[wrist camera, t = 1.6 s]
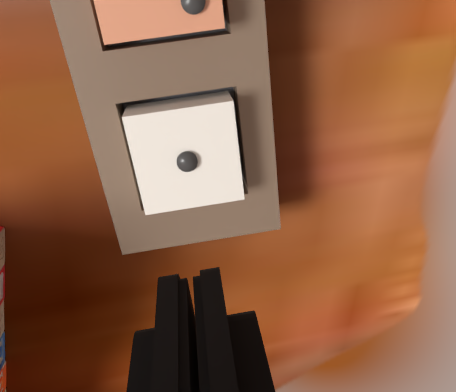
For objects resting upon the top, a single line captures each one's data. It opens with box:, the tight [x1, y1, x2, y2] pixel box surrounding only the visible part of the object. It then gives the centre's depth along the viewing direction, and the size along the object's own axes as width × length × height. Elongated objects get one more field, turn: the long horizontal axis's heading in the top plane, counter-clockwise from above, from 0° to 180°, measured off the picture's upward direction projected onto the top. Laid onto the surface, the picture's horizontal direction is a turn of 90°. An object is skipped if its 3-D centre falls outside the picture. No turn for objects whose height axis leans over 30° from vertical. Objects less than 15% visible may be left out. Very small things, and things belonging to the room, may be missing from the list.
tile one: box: [122, 91, 245, 215], centre depth 23 cm, size 6×6×3 cm
